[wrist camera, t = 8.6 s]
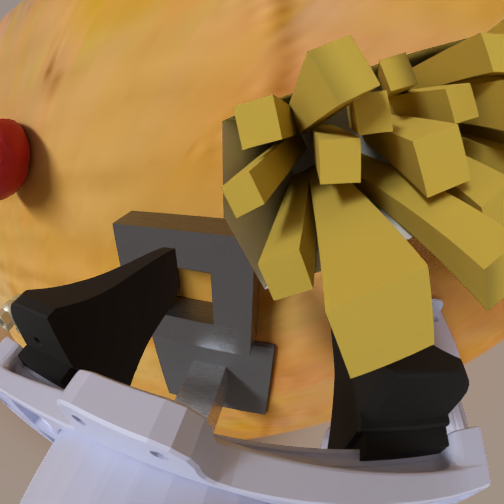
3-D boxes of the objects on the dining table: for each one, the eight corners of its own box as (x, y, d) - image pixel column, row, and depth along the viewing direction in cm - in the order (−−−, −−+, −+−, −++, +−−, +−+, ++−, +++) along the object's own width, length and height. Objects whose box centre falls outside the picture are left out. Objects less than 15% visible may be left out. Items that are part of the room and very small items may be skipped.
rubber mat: (274, 344, 28) (274, 348, 28) (265, 411, 35) (265, 414, 34) (151, 320, 30) (149, 323, 30) (170, 389, 37) (169, 392, 36)
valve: (13, 296, 39) (49, 345, 43) (-9, 315, 33) (30, 367, 37) (22, 288, 36) (61, 343, 40) (-2, 309, 30) (41, 367, 34)
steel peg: (226, 366, 31) (205, 424, 24) (229, 386, 32) (210, 440, 25) (193, 360, 31) (167, 414, 24) (198, 380, 33) (176, 431, 26)
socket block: (262, 222, 22) (254, 238, 20) (256, 334, 28) (249, 356, 25) (131, 210, 24) (112, 223, 22) (149, 313, 30) (137, 330, 27)
